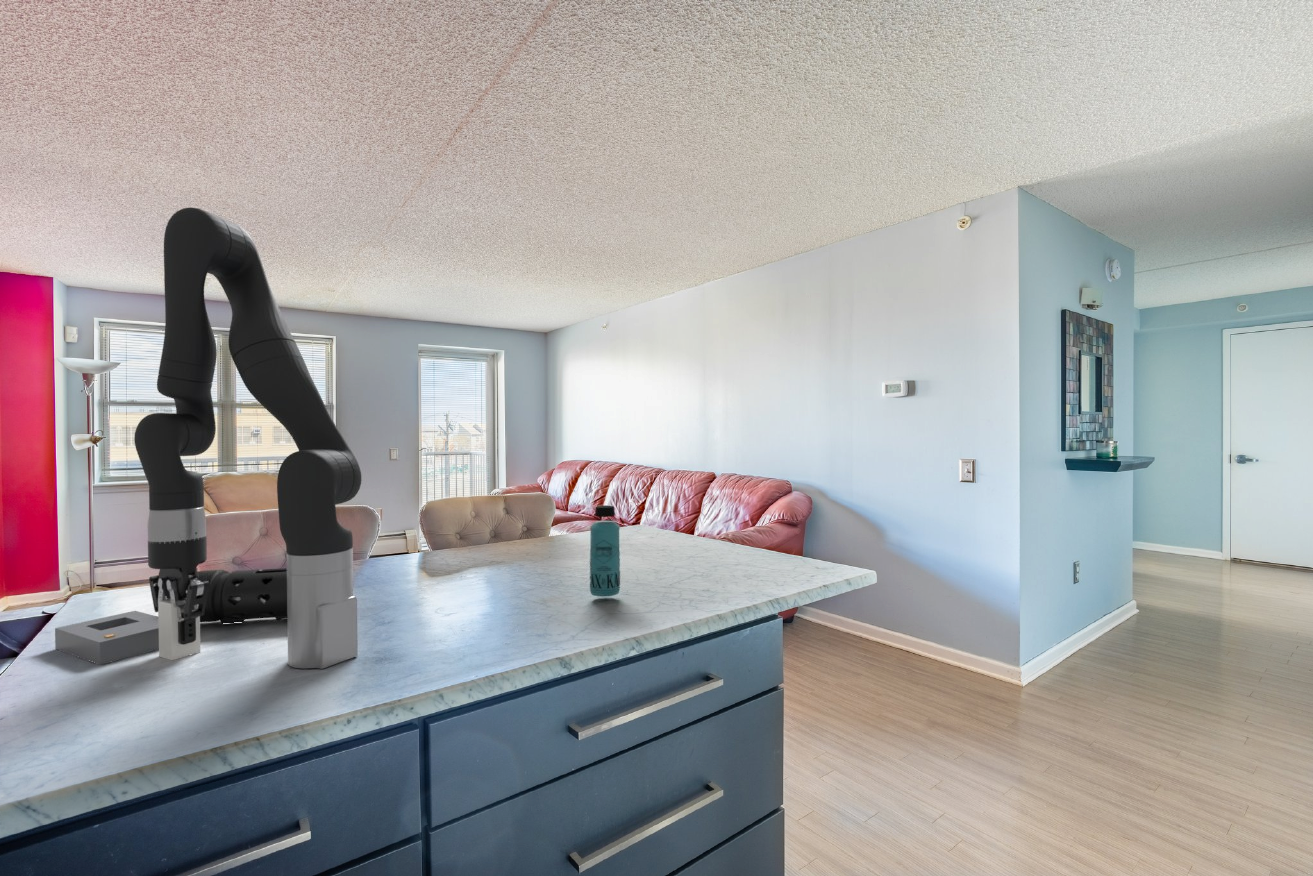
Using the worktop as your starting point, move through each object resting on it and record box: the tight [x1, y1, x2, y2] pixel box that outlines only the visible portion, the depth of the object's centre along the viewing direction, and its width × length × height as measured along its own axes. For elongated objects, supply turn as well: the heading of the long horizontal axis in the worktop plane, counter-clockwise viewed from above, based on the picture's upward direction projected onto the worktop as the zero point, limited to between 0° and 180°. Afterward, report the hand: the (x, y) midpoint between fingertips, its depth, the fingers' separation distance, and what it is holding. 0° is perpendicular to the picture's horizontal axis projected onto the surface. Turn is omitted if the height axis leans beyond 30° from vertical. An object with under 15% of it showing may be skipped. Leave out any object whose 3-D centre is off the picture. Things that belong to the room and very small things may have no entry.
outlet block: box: [54, 610, 159, 666], centre depth 103 cm, size 16×11×4 cm
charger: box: [157, 598, 201, 661], centre depth 99 cm, size 4×4×9 cm
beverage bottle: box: [588, 505, 621, 598], centre depth 128 cm, size 6×7×20 cm
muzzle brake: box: [197, 567, 287, 625], centre depth 116 cm, size 10×28×10 cm, turn 102°
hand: (179, 640), depth 99 cm, fingers closed on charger, 4 cm apart
